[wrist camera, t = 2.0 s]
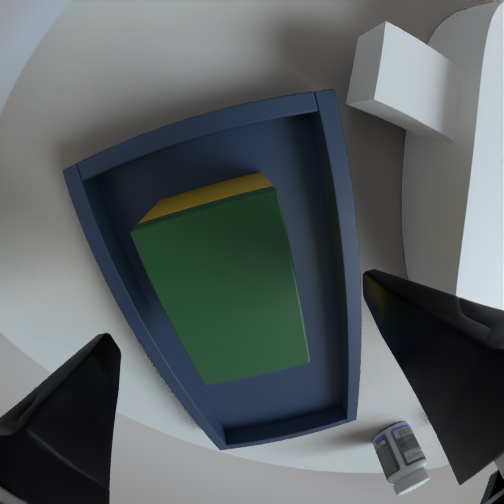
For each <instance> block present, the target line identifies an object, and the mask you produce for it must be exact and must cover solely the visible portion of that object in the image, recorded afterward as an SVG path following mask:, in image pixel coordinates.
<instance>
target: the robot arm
mask: <svg viewBox="0 0 504 504" xmlns="http://www.w3.org/2000/svg"><path fill="white" fill-rule="evenodd" d="M363 295H364V299H365V301H366V303H367V305H368V307H369V310H370V312H371V314H372V316H373V318H374V320H375V322H376V325H377V327H378V329H379V331H380V333H381V335H382V337H383V339H384V340H385V342H386V344H387V345H388V347H389V349H390V350H391V352H392V354H393V355H394V357H395V359H396V361H397V362H398V364H399V366H400V367H401V369H402V371H403V373H404V374H405V376H406V378H407V380H408V382H409V383H410V385H411V387H412V389H413V391H414V392H415V394H416V396H417V398H418V400H419V402H420V404H421V405H422V407H423V409H424V411H425V413H426V415H427V417H428V419H429V421H430V423H431V425H432V427H433V429H434V431H435V433H436V434H437V437H438V439H439V441H440V443H441V446H442V448H443V450H444V452H445V454H446V456H447V458H448V461H449V463H450V465H451V467H452V469H453V472H454V474H455V476H456V479H457V481H458V483H459V485H461V484H463V483H464V482H466V481H467V480H469V479H470V478H472V477H473V476H474V475H476V474H477V473H479V472H480V471H481V470H483V469H484V468H485V467H486V466H488V465H489V464H490V463H492V462H493V461H495V463H496V465H497V467H498V470H497V471H496V472H495V473H493V474H492V475H491V476H490V478H489V481H488V484H487V487H486V490H485V493H484V496H483V498H482V500H481V503H480V504H504V310H501V309H497V308H493V307H489V306H486V305H482V304H479V303H476V302H473V301H470V300H467V299H464V298H461V297H459V298H458V296H455V295H452V294H449V293H446V292H443V291H440V290H437V289H434V288H431V287H428V286H425V285H422V284H419V283H416V282H413V281H410V280H407V279H404V278H401V277H398V276H395V275H392V274H388V273H385V272H382V271H379V270H376V269H373V270H369V271H366V272H364V274H363ZM120 363H121V352H120V349H119V347H118V346H117V344H116V343H115V341H114V340H113V338H112V337H111V335H110V334H108V333H104V334H99V335H97V336H96V337H95V338H94V339H92V340H91V341H90V342H89V343H88V344H86V345H85V346H84V347H83V348H82V349H80V350H79V351H78V352H77V353H76V354H75V355H73V356H72V357H71V358H70V359H69V360H68V361H66V362H65V363H64V364H63V365H62V366H61V367H59V368H58V369H57V370H56V371H55V372H54V373H52V374H51V375H50V376H49V377H48V378H47V379H46V380H44V381H43V382H42V383H41V384H40V385H39V386H38V387H36V388H35V389H34V390H33V391H32V392H31V393H30V394H28V395H27V396H26V397H25V398H24V399H23V400H22V401H20V402H19V403H18V404H17V405H15V406H14V407H13V408H12V409H11V410H9V411H8V412H7V413H6V414H4V415H3V416H2V417H0V504H109V497H110V496H109V495H110V494H109V492H110V490H109V488H110V487H109V486H110V465H111V451H112V440H113V429H114V421H115V413H116V405H117V398H118V391H119V377H120Z"/></svg>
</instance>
